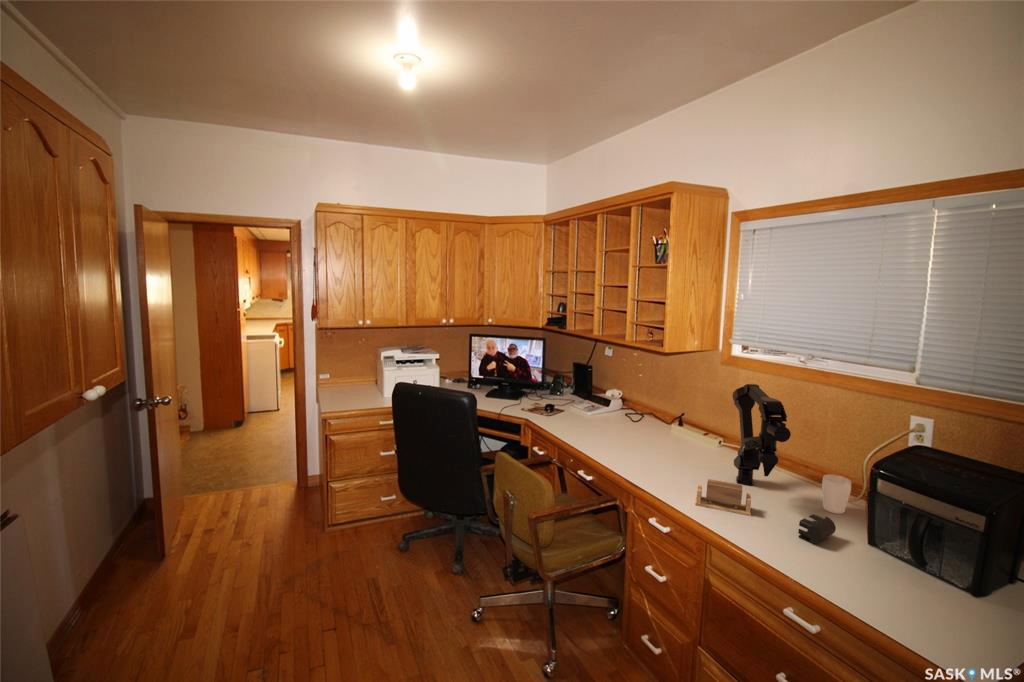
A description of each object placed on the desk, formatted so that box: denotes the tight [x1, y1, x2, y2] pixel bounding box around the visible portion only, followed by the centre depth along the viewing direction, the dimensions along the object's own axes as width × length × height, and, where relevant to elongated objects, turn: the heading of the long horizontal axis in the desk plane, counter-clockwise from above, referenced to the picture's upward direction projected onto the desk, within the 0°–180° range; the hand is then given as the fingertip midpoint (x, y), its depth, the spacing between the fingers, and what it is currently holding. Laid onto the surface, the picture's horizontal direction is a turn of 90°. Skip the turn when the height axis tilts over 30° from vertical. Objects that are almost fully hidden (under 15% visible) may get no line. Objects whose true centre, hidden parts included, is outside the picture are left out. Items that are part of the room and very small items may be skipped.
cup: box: [821, 474, 852, 515], centre depth 181 cm, size 9×9×12 cm
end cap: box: [797, 513, 837, 545], centre depth 162 cm, size 10×7×7 cm
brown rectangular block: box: [705, 478, 743, 506], centre depth 183 cm, size 5×12×6 cm, turn 65°
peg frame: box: [694, 483, 752, 517], centre depth 183 cm, size 7×19×6 cm, turn 65°
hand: (765, 471), depth 186 cm, fingers open, 9 cm apart
